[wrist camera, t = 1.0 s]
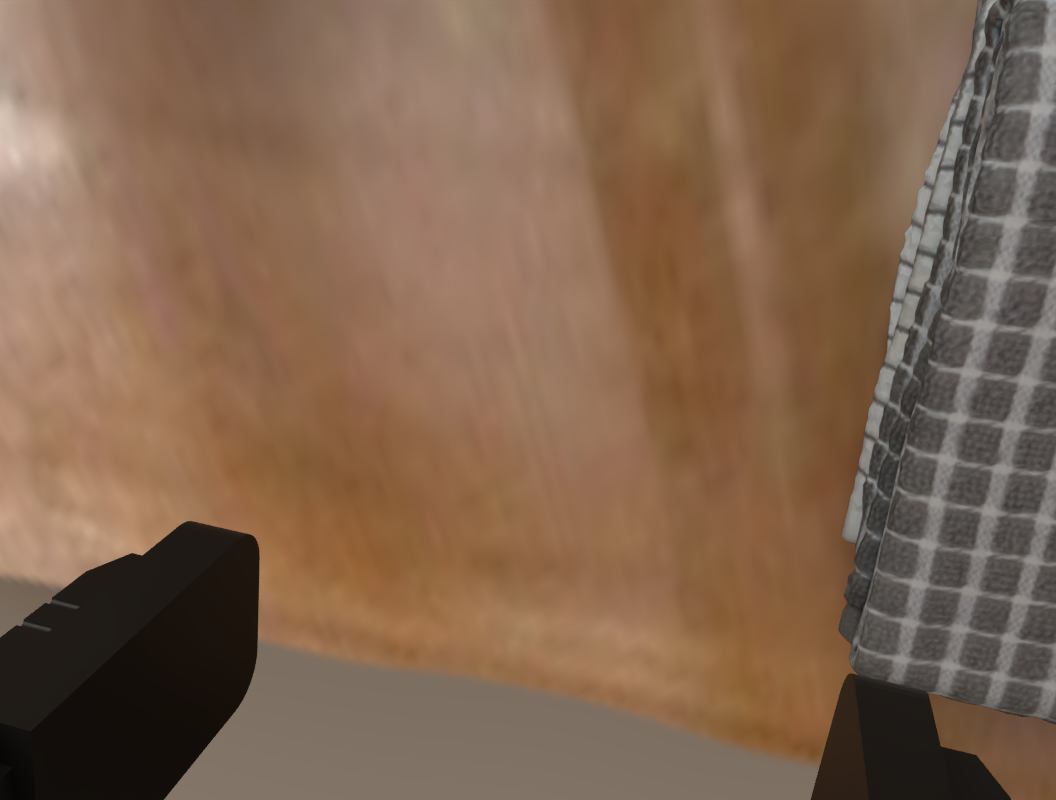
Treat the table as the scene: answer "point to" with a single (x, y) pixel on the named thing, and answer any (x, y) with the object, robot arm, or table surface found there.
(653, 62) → the table surface
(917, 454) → the towel
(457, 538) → the table surface
